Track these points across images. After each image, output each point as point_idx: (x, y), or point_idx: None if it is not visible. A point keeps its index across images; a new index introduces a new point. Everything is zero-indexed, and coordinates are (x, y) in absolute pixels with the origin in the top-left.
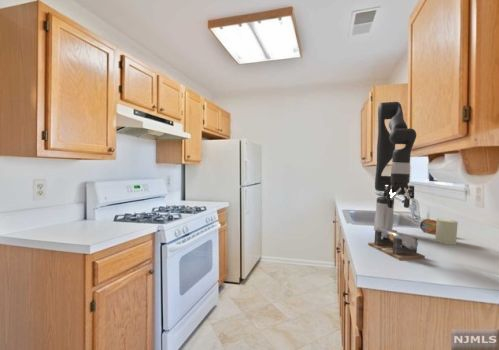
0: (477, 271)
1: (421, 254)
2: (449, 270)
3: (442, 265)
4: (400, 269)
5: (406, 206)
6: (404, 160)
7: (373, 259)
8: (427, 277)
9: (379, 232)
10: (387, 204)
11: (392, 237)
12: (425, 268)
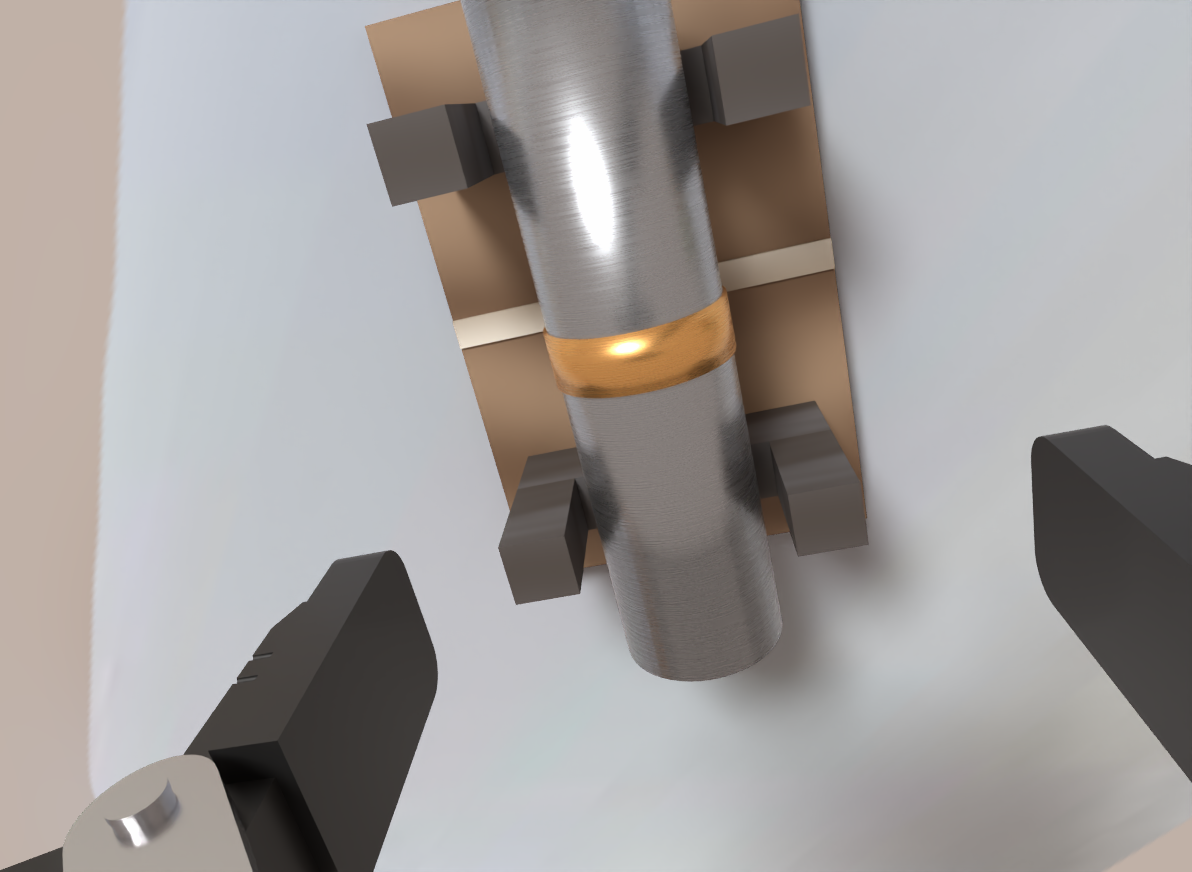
0: (1116, 763)
1: (860, 478)
2: (866, 754)
3: (900, 660)
4: (436, 752)
5: (1053, 572)
6: None
7: (278, 561)
8: (571, 863)
9: (428, 197)
10: (263, 653)
11: (563, 394)
12: (674, 726)
